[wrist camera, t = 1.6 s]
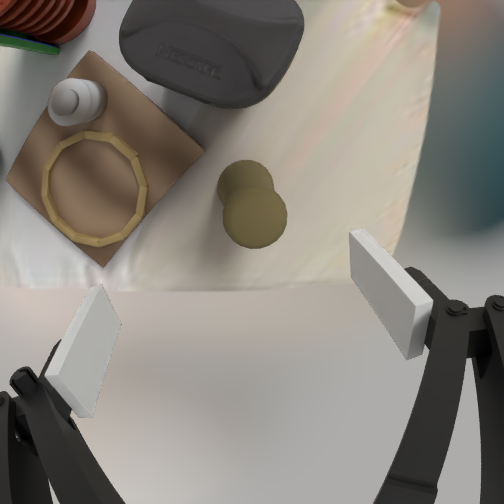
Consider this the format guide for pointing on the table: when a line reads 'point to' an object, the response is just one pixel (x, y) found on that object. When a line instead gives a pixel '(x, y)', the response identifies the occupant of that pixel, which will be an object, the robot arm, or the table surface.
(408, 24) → the table surface
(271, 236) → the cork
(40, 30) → the motor
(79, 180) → the carrier board
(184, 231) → the table surface
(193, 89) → the coffee jar
